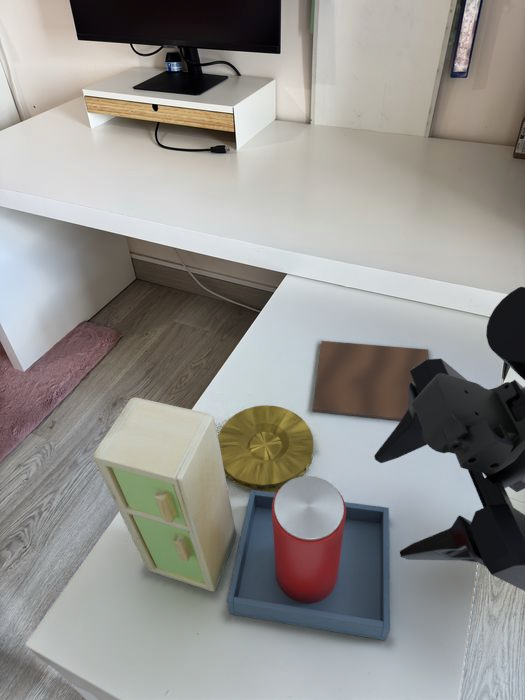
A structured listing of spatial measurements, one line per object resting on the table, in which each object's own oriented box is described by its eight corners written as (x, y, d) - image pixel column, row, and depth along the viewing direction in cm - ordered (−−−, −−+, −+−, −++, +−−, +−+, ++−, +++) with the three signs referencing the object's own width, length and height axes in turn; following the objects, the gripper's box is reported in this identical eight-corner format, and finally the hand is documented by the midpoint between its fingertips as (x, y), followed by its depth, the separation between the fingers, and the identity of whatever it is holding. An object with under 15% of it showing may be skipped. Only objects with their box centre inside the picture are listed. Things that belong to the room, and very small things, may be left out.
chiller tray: (385, 521, 56) (388, 507, 54) (386, 640, 48) (390, 629, 46) (252, 504, 59) (250, 489, 57) (229, 614, 50) (226, 601, 48)
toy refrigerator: (142, 578, 53) (85, 462, 39) (172, 516, 58) (132, 393, 44) (212, 601, 51) (179, 488, 37) (237, 535, 56) (217, 413, 42)
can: (339, 546, 54) (348, 478, 45) (335, 608, 49) (344, 546, 40) (280, 537, 55) (277, 469, 46) (271, 598, 50) (266, 535, 41)
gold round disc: (200, 470, 62) (197, 460, 61) (247, 404, 70) (246, 394, 68) (287, 510, 58) (287, 500, 56) (327, 435, 65) (328, 424, 64)
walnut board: (427, 351, 76) (428, 349, 76) (434, 424, 66) (435, 421, 66) (321, 343, 79) (321, 340, 78) (312, 411, 69) (312, 409, 68)
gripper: (456, 279, 39) (311, 385, 47) (580, 489, 26) (348, 593, 33) (524, 346, 45) (385, 432, 52) (656, 550, 31) (443, 627, 38)
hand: (389, 504), depth 44 cm, fingers open, 9 cm apart
